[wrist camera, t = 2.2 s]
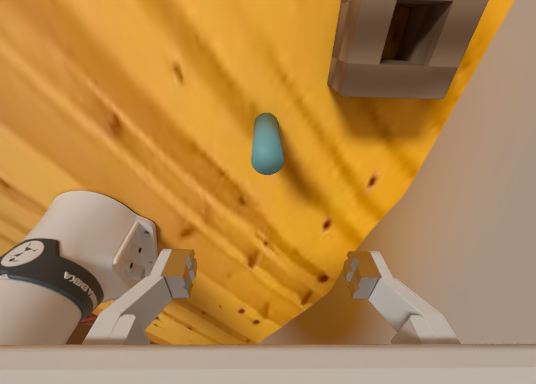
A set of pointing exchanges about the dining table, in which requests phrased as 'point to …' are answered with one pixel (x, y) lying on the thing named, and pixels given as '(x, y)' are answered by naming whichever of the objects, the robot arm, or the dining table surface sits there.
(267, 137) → the teal peg
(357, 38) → the walnut hole block
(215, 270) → the dining table surface
